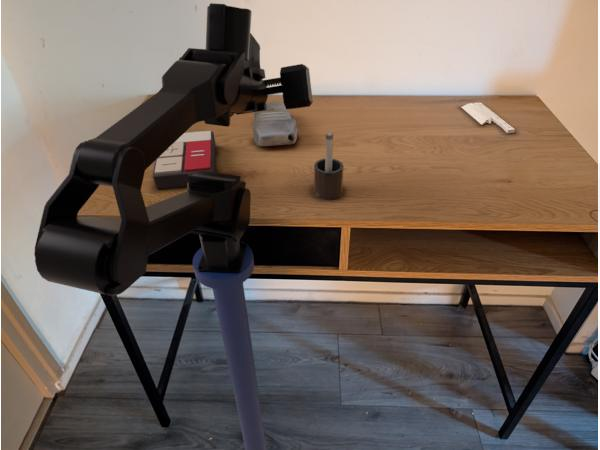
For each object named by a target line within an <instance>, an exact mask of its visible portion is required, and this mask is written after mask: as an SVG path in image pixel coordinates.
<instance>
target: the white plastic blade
mask: <svg viewBox="0 0 600 450" xmlns="http://www.w3.org/2000/svg"><path fill="white" fill-rule="evenodd" d="M461 109H462V110H463V111H464V112H465V113H467V114H468V115H469V116H470V117H471V118H473V119H474V120H475V121H477V123H479V124H480V125H481V126H484V125H485V124H487V123H488V124H492V122H493V123H494V124H496V125H497V126H498V127H500V128H501V129H502V130H503V131H504V132H505V133H506V134H513V133H515V131H516V128H514V127H513V126H512V125H510V124H509V123H507V122H506V121H505V120H504V119H503V118H501V117H500V116H499V115H498V114H496V113H495V112H494V111H492V110H491V108H489V107H487V106H486V105H484V104H483V103H482V102H476V101H475V102H469V103H466V104H464V105H463V106H461Z"/></svg>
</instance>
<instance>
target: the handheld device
mask: <svg viewBox="0 0 600 450" xmlns="http://www.w3.org/2000/svg"><path fill="white" fill-rule="evenodd" d="M266 108H267V110H266V111H259V112H253V119H254V120H253V122H252V134H253V135H252V137H253V141H254V142H253V143H255V145H257V146H258V147H270V146H271V147H272V146H273V147H274V146H285V145H286V146H287V145H294V144H295V143H296V142H297V139H298V132H299V128H298V123H297V120H296V119H295V118H292V114H291V111H290V109H286V107H285V105H284V103H282V102H280V101H269V102H268V101H266Z"/></svg>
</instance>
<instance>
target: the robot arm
mask: <svg viewBox="0 0 600 450" xmlns="http://www.w3.org/2000/svg"><path fill="white" fill-rule="evenodd" d="M252 14H253V13H252V10H251V9H249V8H244V7H243V8H241V7H237V6H231V5H226V4H225V3H213V2H212V3H211V2H210V3H209V5H208V6H207V8H206V31H205V48H195V47H193V48H192V47H188V48H187V49H186V51H185V52H184V53H183V55H181V57H179V58H178V60H176V61H174V62H173V64H171V66H170V67H169V68H168V69H167V70H166V71H165V73H164V74H162V76H161V86H162V87H161V88H160V89H159V90H158V92H156V93H155V94H153V95H152V96H150V97H149V98H148V99H147V100H145V101H143V102H142V103H141V104H140V105H138V106H137V107H136V108H134V109H132V111H130V112H129V113H127V114H126V115H125V116H123V117H122V118H120V119H119V120H117V121H116V122H115V123H114V124H112V125H111V126H110V127H108V128H107V129H106V130H104V131H103V132H102V133H100V134H98V136H96V137H93V138H90V139H88V140H85V141H84V140H83V141H82V142H80V143H79V144H78V145H77V146H76V148H75V149H74V152H73V154H72V159H71V162H70V168H69V171H68V174H67V176H66V177H65V178H64V180H63V181H62V182H61V183H60V184H59V186H58V187H57V188H56V190H55V191H54V192H53V194H52V195H51V196H50V197H49V198H48V199H47V201H46V203H45V204H44V206H43V211H42V215H41V218H40V219H41V220H40V223H39V229H38V232H37V235H36V236H37V237H36V241H35V244H34V263H35V267H36V270H37V272H38V273H39V275H40V277H41V278H42V279H44V280H45V281H47V282H50V283H54V284H58V285H63V286H67V287H71V288H75V289H79V290H84V291H89V292H93V293H97V294H102V295H106V296H110V297H115V296H119V295H122V294H123V293H125V291H126V290H127V289H129V288H130V287H131V286H133V284H135V282H137V281H138V280H139V279H140V278H141V277H143V276H144V275H145V274H146V272H147V268H148V261H149V257H150V255H152V254H154V253H155V252H157V251H159V250H161V249H163V248H164V247H166V246H168V245H170V244H172V243H174V242H175V241H177V240H179V239H181V238H182V237H184V236H186V235H189V234H195V235H198V236H199V241H200V244H201V246H200V247H202V251H203V255H202V258H201V260H200V263H199V266H198V271H199V272H212V273H236V274H237V273H239V272H240V271H241V267H242V263H243V259H244V255H245V251H246V247H247V246H246V244H247V243H246V242H244V243H239V241H241V238H242V237H243V235H244V234H245V232H246V230H247V229H248V227H249V225H250V224H251V223H250V221H251V201H252V195H251V194H252V193H251V189H249V188H246V186H247V181H245V180H243V179H242V177H241V175H235V174H228V173H222V172H216V173H215V172H209V171H202V170H198V171H197V173H195V174H193V175H190V174H188V180H189V182H188V183H187V187H186V191H185V192H182V193H179V194H176V195H173V196H171V197H168V198H166V199H163V200H160V201H158V202H155V203H152V204H150V205H147V206H146V205H145V201H144V200H145V199H144V197H143V193H142V186H143V185H142V184H143V181H144V177H145V173H146V170H147V169H148V168H149V167H150V166H151V165H153V163H155V160H156V159H157V158H158V157H160V156H161V155H162V154H163V153H164V152H165V151H166V150H167V149H168V148H169V147H170V146H171V145H172V144H173V143H174V142H175V141H176V140H177V139H178V138H180V137H181V136H182V135H183V134H184V133H187V131H188V130H189V129H190V128H191V127H192V126H194V125H196V124H198V123H200V122H204V124H206V125H210V126H220V127H230V125H231V118H232V117H233V116H234V115H237V116H238V115H245V114H252V113H253V114H254V113H255V112H259V111H266V110H267V108H266V102H268V97H269V96H270V95H271V96H272V95H277V94H282V101H283V104H284V105H285V107H286V109H288V110H297V109H303V108H310V107H311V106H312V105H313V102H314V101H313V92H312V83H311V74H310V68H309V67H308V66H307V65H305V64H303V63H299V64H294V65H288V66H282V67H280V71H279V77H274V78H269V79H266V71H265V69H264V68H262V67H261V59H260V58H261V45H260V44H259V42H258V41H257V40H256V38H255V36H253V34H252V33H251V29H252V27H251V25H252ZM100 186H105V187H106V186H107V187H112V190H113V193H114V197H115V201H116V204H117V208H118V212H119V216H79V217H78V214H79V212H80V211H81V210H82V208H83V207H84V205H85V204H86V203H87V202H88V200H90V198H91V197H92V195H93V194H94V193H95V192H96V191H97V189H98V188H99V187H100Z"/></svg>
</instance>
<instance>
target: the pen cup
mask: <svg viewBox="0 0 600 450" xmlns="http://www.w3.org/2000/svg"><path fill="white" fill-rule="evenodd" d="M344 167H345V166H344V163H343V162H342V161H340V160H339V159H337V158H332V172H325V158H321V159H319V160H316V161H315V162H314V165H313V191H314V193H313V194H314V195H315V196H316V197H317V198H319V199H321V200H325V201H326V200H330V201H331V200H335V199H338V198H339V197H340V196H342V193H343V183H344Z"/></svg>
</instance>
